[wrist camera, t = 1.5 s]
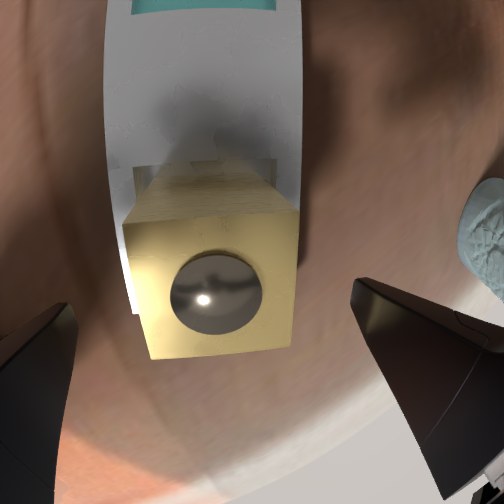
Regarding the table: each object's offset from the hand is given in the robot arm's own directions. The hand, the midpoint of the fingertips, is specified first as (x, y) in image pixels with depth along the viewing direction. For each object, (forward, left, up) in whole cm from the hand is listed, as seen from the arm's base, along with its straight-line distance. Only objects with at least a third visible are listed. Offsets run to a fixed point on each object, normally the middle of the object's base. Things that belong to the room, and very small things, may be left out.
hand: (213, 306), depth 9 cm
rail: (+7, 0, -8) cm, 11 cm away
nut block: (0, 0, -8) cm, 8 cm away
